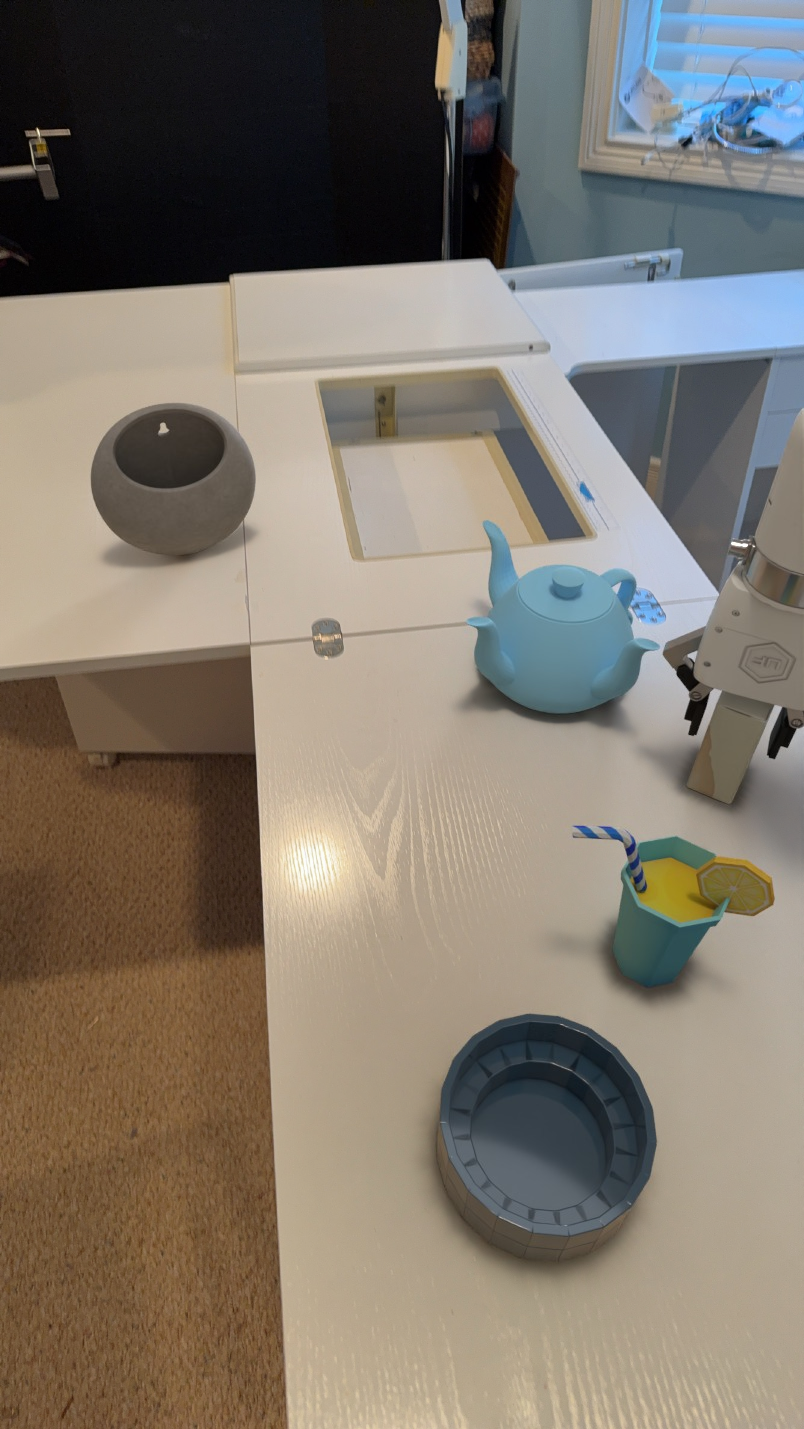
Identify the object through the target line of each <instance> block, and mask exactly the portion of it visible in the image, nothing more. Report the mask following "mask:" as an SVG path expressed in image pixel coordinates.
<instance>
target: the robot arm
mask: <svg viewBox="0 0 804 1429" xmlns="http://www.w3.org/2000/svg"><path fill="white" fill-rule="evenodd" d="M727 556H728V557H732V558H735V559H736V560H737V561H739V562H738V563H737V564H735V566H734V568H733V570H732V571H731V573H730V574H729V576H728V577H727V580H726V581H725V583H724V585H723V587H722V589H721V591H720V593H719V594H718V596H717V598H716V601H715V602H714V605H713V608H712V610H711V612H710V614H709V616H708V620H707V622H706V625H704V626H701V627H700V628H697V629H695V630H692V631H690V632H687V633H685V634H683V635H681V636H678V637H676V638H673V639H670V640H668V641H667V642H665V644H664V646H663V650H662V656H663V658H664V659H665V661H666V662H667V663H668V664H669V665H670V667H671V668H672V669H674V671H675V673H676V674H675V675H676V677H677V678H678V679H679V681H680V682H681V683H682V685H683V686H684V687H685V688H686V690H687V691H688V698H689V701H688V703H687V707H686V710H685V714H684V717H683V720H685V721H689V722H690V724H689V728H688V732H687V735H688V736H691V737H695V736H697V735H698V732H699V729H700V726H701V723H702V721H703V719H704V715H705V712H706V709H707V706H708V703H709V699H710V694H711V692H712V691H714V689H715V690H718V691H721V692H722V691H725V692H729V693H732V694H736V695H740V696H743V697H747V698H751V699H755V700H758V701H762V702H766V703H770V704H774V706H776V707H777V706H778V707H781V709H780V711H779V713H778V715H777V718H776V720H775V722H774V725H773V727H772V729H771V732H770V734H769V739H768V745H767V750H766V756H768V759H772V760H776V758H777V756H778V753H779V751H780V749H781V747H782V748H785V749H789V747H790V744H791V743H792V740H793V738H794V736H795V734H796V732H797V729H803V727H804V407H802V409H801V410H800V411H799V413H798V414H797V415H796V417H795V419H794V422H793V423H792V426H791V429H790V432H789V434H788V437H787V440H786V443H785V446H784V450H783V451H782V455H781V458H780V461H779V463H778V467H777V470H776V472H775V475H774V478H773V480H772V484H771V487H770V490H769V492H768V496H767V499H766V502H765V505H764V508H763V510H762V513H761V516H760V519H759V522H758V525H757V528H756V529H755V532H754V535H749V538H748V539H747V538H742V539H739V538H733V537H732V539H731V542H730V545H729V549H728V552H727ZM695 652H696V655H695V660H694V659H692V658H691V657H689V656H688V655H690V654H692V653H695Z"/></svg>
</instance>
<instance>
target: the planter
mask: <svg viewBox="0 0 804 1429" xmlns="http://www.w3.org/2000/svg"><path fill="white" fill-rule="evenodd" d="M161 424H165V428H166V429H167V430H168V431H166V432H160V431H161ZM256 477H257V474H256V467H255V461H254V459H253V455H252V453H251V450H250V448H249V446H248V444H247V442H246V441H245V439H244V437H243V436H242V435H241V433H240V432H239V431H238V429H236V427H235V426H234V425H233V424H232V423H231V422H230V421H229V420H227V419H226V418H225V417H223V416H222V415H220V413H217V412H215V411H213V410H211V409H209V408H207V407H203V406H200V405H198V404H193V403H184V402H164V403H157V404H152V405H148V406H145V407H142V408H140V409H136V410H135V411H132V412H130V413H128V414H127V415H125V416H123V417H122V418H120V419H119V420H118V421H117V422H115V423H114V424H113V426H111V427H110V428H109V429H108V430H107V432H106V433H105V434H104V435H103V436H102V438H101V440H100V442H99V443H98V446H97V448H96V451H95V453H94V456H93V459H92V462H91V468H90V488H91V494H92V499H93V502H94V504H95V507H96V509H97V512H98V513H99V516H100V517H101V519H102V520H103V522H104V523H105V525H106V526H107V527H108V528H109V530H110V531H112V533H113V534H114V535H115V536H117V537H118V538H119V539H120V540H122V541H123V542H125V543H126V544H127V545H130V546H131V547H134V548H136V549H137V550H141V551H144V552H146V553H151V554H154V555H162V556H183V555H189V554H195V553H199V552H201V551H205V550H207V549H209V548H211V547H214V546H215V545H217V544H219V543H221V542H223V541H224V540H225V539H226V538H228V537H229V536H231V534H233V533H234V532H235V531H236V530H237V529H238V528H239V527H240V526H241V524H242V523H243V521H244V520H245V518H246V516H247V515H248V513H249V511H250V509H251V506H252V503H253V501H254V498H255V497H254V496H255V492H256V481H257V480H256V479H257V478H256Z"/></svg>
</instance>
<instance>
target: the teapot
mask: <svg viewBox="0 0 804 1429" xmlns="http://www.w3.org/2000/svg"><path fill="white" fill-rule="evenodd" d="M482 527H483V529H484V531H485V533H486V535H487V538H488V541H489V543H490V549H491V550H490V551H491V559H490V567H489V574H488V587H487V588H488V589H487V590H488V596H489V600H490V603H491V605H492V608H491V610H490V611H489V613H488V614H487V616H486V617H485V616H473V617H470V618H467V619H466V621H465V623H466V624H467V625H469V626H470V627H473V628H474V629H476V630H477V637H476V642H475V645H474V646H475V647H474V651H473V658H474V662H475V665H476V668H477V670H478V671H479V673H481V674H482V675H483V676H484V677H485V678H486V679H487V680H489V681H490V683H491V684H492V685H494V687H495V688H496V689H498V691H500V692H501V693H502V694H503V695H504V696H506V697H507V698H509V699H510V700H511V701H513V702H515V703H517V704H519V705H520V706H522V707H525V708H527V709H529V710H533V711H536V712H540V713H545V714H554V715H555V714H556V715H565V714H576V713H579V712H584V711H588V710H590V709H594V708H596V707H598V706H601V705H602V704H605V703H607V702H609V701H610V700H612V699H615V698H618V697H620V696H623V695H624V694H626V693H628V692H629V691H630V690H631V689H632V688H634V686H635V685H636V683H637V681H638V679H639V676H640V674H641V673H640V672H641V666H642V665H641V664H642V660H643V656H644V655H645V653H647V652H650V651H651V652H654V651H658V650H659V649H660V648H661V646H660V644H659V643H657V642H656V641H654V640H651V639H649V638H645V637H636V638H635V636H634V631H633V627H632V625H633V621H634V617H633V613H632V612H631V611H630V609H629V608H630V606H631V603H632V602H633V600H634V597H635V594H636V591H637V585H638V584H637V579H636V578H635V576H634V574H632V573H631V572H630V571H629V570H628V569H625V568H621V567H615V568H611V569H608V570H606V571H605V572H603V573H602V574H597V573H595V572H593V571H591V570H589V569H587V568H584V567H580V566H576V565H571V564H549V565H543V566H539V567H537V568H534V569H532V570H530V571H528V572H527V573H525V574H524V575H523V576H521V577H519V575H518V574H517V570H516V569H515V565H514V561H513V557H512V552H511V549H510V545H509V542H508V539H507V537H506V535H505V533H504V532H503V530H502V529H501V528H500V527H499V526H498V525H497V524H496V523H494V522H493V521H491V520H489V519H486V520H483V521H482ZM618 584H620V585H619V588H618V590H617V593H616V591H615V590H614V588H613V587H615V586H616V585H618Z"/></svg>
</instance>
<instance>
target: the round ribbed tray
mask: <svg viewBox="0 0 804 1429" xmlns="http://www.w3.org/2000/svg"><path fill="white" fill-rule="evenodd" d="M444 1078H445V1079H444V1081H443V1084H442V1086H441V1090H440V1091H441V1092H440V1099H439V1111H438V1121H437V1133H436V1134H437V1135H436V1136H437V1137H436V1157H437V1163H438V1167H439V1170H440V1175H441V1178H442V1182H443V1186H444V1188H445V1191H446V1192H447V1194H448V1196H449V1197H450V1199H451V1201H452V1202H453V1205H454V1206H455V1207H456V1210H457V1211H458V1213H459V1215H460V1216H461V1218H463V1220H464V1221H465V1223H467V1224H468V1225H469V1226H470V1227H471V1228H472V1229H474V1230H475V1232H476V1233H477V1234H478V1235H480V1236H481V1237H482V1238H483V1239H484V1240H485V1241H486V1242H487V1243H489V1244H490V1245H492V1246H494V1247H496V1248H498V1249H501V1250H503V1251H504V1252H507V1253H509V1254H512V1255H513V1256H515V1257H518V1258H520V1259H523V1260H531V1261H540V1262H542V1261H543V1262H551V1263H557V1262H558V1263H559V1262H562V1261H567V1260H570V1259H573V1258H577V1257H581V1256H585V1255H588V1254H591V1253H592V1252H594V1251H595V1250H596V1249H598V1248H599V1247H600V1246H601V1245H603V1244H605V1242H607V1241H608V1240H609V1239H610V1238H612V1237H613V1236H614V1235H615V1234H616V1233H617V1232H618V1231H619V1229H620V1227H621V1226H622V1224H623V1222H624V1221H625V1219H626V1217H627V1216H628V1214H629V1213H630V1211H631V1209H632V1208H633V1207H634V1206H635V1203H636V1202H637V1200H638V1198H639V1197H640V1195H641V1193H642V1192H643V1190H644V1189H645V1186H646V1185H647V1183H648V1182H649V1180H650V1179H651V1176H652V1171H653V1167H654V1166H653V1165H654V1162H655V1161H654V1160H655V1156H656V1150H657V1144H658V1138H657V1131H656V1130H657V1129H656V1122H655V1112H654V1108H653V1104H652V1102H651V1100H650V1098H649V1095H648V1093H647V1091H646V1088H645V1086H644V1084H643V1081H642V1078H641V1076H640V1075H639V1073H638V1072H637V1071H636V1069H635V1068H634V1067H633V1066H632V1064H631V1063H630V1062H629V1060H627V1058H626V1056H624V1054H623V1053H622V1052H621V1051H620V1049H619V1048H618V1047H617V1046H615V1044H613V1043H612V1042H611V1041H609V1040H607V1039H606V1038H605V1037H603V1036H602V1035H601V1034H599V1033H598V1032H596V1031H595V1030H594V1029H592V1028H590V1027H589V1026H587V1025H584V1024H581V1023H579V1022H576V1021H573V1020H571V1019H568V1018H565V1017H563V1016H560V1015H551V1014H539V1013H525V1014H520V1015H516V1016H510V1017H507V1018H503V1019H499V1020H496V1021H495V1022H493V1023H492V1024H490V1025H488V1026H487V1027H484V1028H483V1029H481V1030H480V1031H478V1032H477V1033H475V1034H473V1035H472V1036H471V1037H470V1038H469V1040H468V1041H467V1042H466V1043H465V1044H464V1045H463V1046H462V1047H461V1049H460V1050H459V1051H458V1053H457V1054H456V1055H455V1056H454V1057H453V1059H452V1060H451V1064H450V1065H449V1068H448V1071H447V1074H446V1075H445V1077H444Z"/></svg>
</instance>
